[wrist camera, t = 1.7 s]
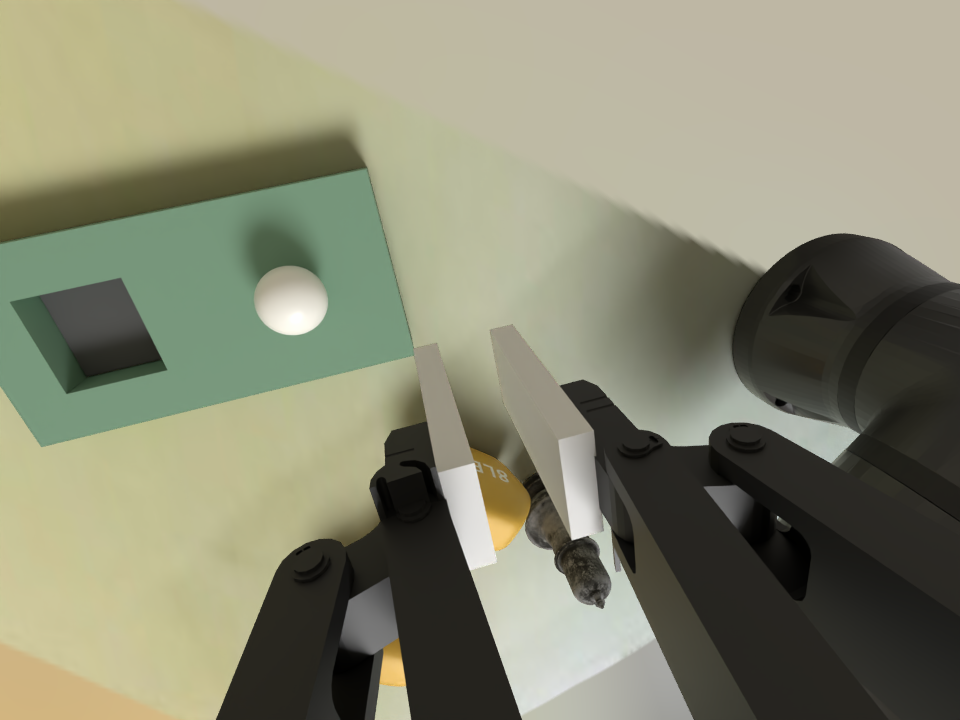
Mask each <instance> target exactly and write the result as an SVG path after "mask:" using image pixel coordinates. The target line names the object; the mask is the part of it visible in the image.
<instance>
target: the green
mask: <svg viewBox="0 0 960 720" xmlns="http://www.w3.org/2000/svg"><path fill="white" fill-rule="evenodd" d="M281 266H298V267H302V268H305V269H307V270H309V271H310V272H312V273H313V274H315V275H316V276H317V277H318V278H319V279H320V281H321V282H322V283H323V285H324V287H325V289H326V292H327V296H328V308H327V312H326V314H325V316H324V318H323V320H322V321H321V323H320V324H319V325H318V326H317V327H315V328H314V329H313V330H311V331H309V332H307V333H304V334H300V335H285V334H281V333H278V332H276V331H274V330H272V329H270V328H269V327H268V326H266V325H265V324H264V323H263V321H262V320H261V319H260V317H259V316H258V314H257V312H256V309H255V305H254V293H255V289H256V287H257V284H258V282H259V281H260V279H261V278H262V277H263V276H264V275H265V274H266V273H268V272H269V271H271V270H272V269H275V268H277V267H281ZM413 349H414V347H413V342H412V338H411V334H410V330H409V326H408V323H407V319H406V315H405V311H404V307H403V303H402V300H401V296H400V292H399V288H398V284H397V280H396V277H395V273H394V269H393V265H392V261H391V257H390V254H389V250H388V246H387V242H386V238H385V234H384V230H383V227H382V223H381V219H380V215H379V211H378V207H377V204H376V200H375V196H374V192H373V188H372V184H371V181H370V177H369V173H368V169H367V167H365V168H360V169H355V170H350V171H345V172H341V173H336V174H331V175H326V176H321V177H316V178H311V179H307V180H302V181H297V182H292V183H287V184H282V185H277V186H272V187H268V188H263V189H258V190H253V191H248V192H243V193H238V194H233V195H229V196H224V197H219V198H214V199H209V200H204V201H199V202H195V203H190V204H185V205H180V206H175V207H170V208H165V209H160V210H156V211H151V212H146V213H141V214H136V215H131V216H126V217H122V218H117V219H112V220H107V221H102V222H97V223H92V224H87V225H83V226H78V227H73V228H68V229H63V230H58V231H53V232H48V233H44V234H39V235H34V236H29V237H24V238H19V239H14V240H10V241H5V242H0V386H1V388H2V389H3V391H4V392H5V394H6V395H7V397H8V398H9V400H10V401H11V403H12V404H13V406H14V407H15V409H16V410H17V412H18V413H19V415H20V416H21V418H22V419H23V420H24V422H25V423H26V425H27V426H28V428H29V429H30V431H31V432H32V434H33V435H34V437H35V438H36V440H37V441H38V443H39V444H40V446H41V447H44V446H48V445H52V444H56V443H60V442H64V441H69V440H73V439H77V438H81V437H85V436H89V435H93V434H97V433H101V432H105V431H109V430H113V429H117V428H121V427H125V426H129V425H133V424H138V423H142V422H146V421H150V420H154V419H158V418H162V417H166V416H170V415H174V414H178V413H182V412H186V411H190V410H194V409H198V408H203V407H207V406H211V405H215V404H219V403H223V402H227V401H231V400H235V399H239V398H243V397H247V396H251V395H255V394H259V393H263V392H268V391H272V390H276V389H280V388H284V387H288V386H292V385H296V384H300V383H304V382H308V381H312V380H316V379H320V378H324V377H328V376H333V375H337V374H341V373H345V372H349V371H353V370H357V369H361V368H365V367H369V366H373V365H377V364H381V363H385V362H389V361H393V360H398V359H402V358H406V357H410V356H414V351H413ZM159 359H162V360H159ZM155 360H158V361H155ZM151 361H153V362H151ZM147 362H149V363H147ZM142 363H145V364H142ZM138 364H141V365H138ZM134 365H136V366H134ZM129 366H132V367H129ZM125 367H128V368H125ZM121 368H124V369H121ZM117 369H119V370H117ZM112 370H115V371H112ZM108 371H111V372H108ZM104 372H107V373H104ZM100 373H102V374H100ZM95 374H98V375H95ZM91 375H94V376H91ZM87 376H89V377H87Z"/></svg>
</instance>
